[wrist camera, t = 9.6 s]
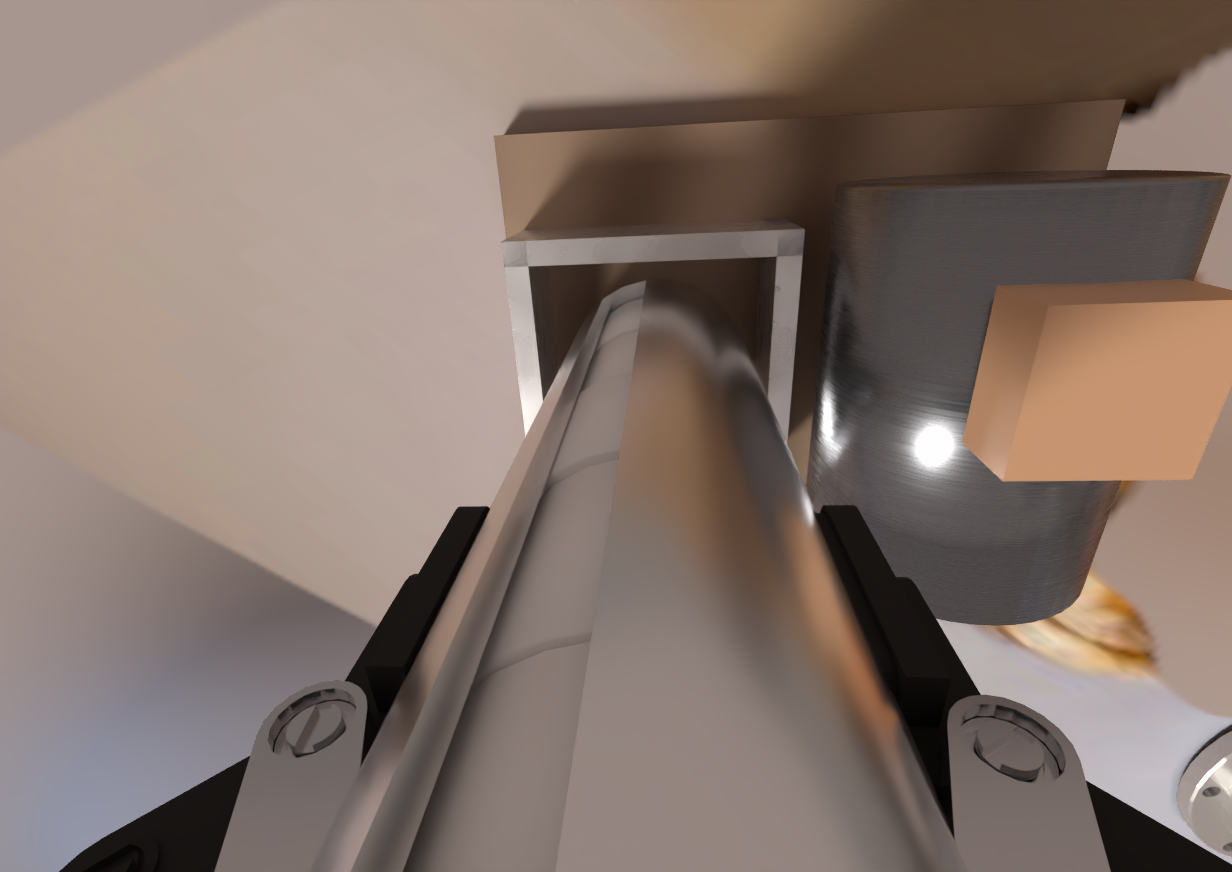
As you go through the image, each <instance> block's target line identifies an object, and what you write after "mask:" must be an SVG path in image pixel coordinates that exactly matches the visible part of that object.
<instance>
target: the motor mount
mask: <svg viewBox="0 0 1232 872" xmlns="http://www.w3.org/2000/svg"><path fill="white" fill-rule="evenodd" d="M1125 101H1126V99H1116V100H1099V101H1082V102H1064V103H1047V104H1030V105H1013V106H996V107H979V108H961V109H944V110H927V111H910V112H893V113H876V114H858V115H841V116H824V117H807V118H790V119H773V120H755V121H738V122H721V123H704V124H687V125H670V126H652V127H635V128H618V129H601V130H584V131H566V132H549V133H532V134H515V135H498V136H494V141H495V149H496V157H497V165H498V173H499V182H500V190H501V198H502V206H503V214H504V223H505V231H506V240H504V241H502V242H501V245H502V253H503V261H504V269H505V277H506V284H507V292H508V300H509V308H510V316H511V324H512V332H513V340H514V348H515V356H516V364H517V372H518V380H519V388H520V396H521V404H522V412H523V420H524V427H525V435H527V433H528V431H529V429H530V427H531V425H532V423H533V421H534V419H535V417H536V415H537V413H538V411H539V409H540V407H541V405H542V403H543V401H544V399H545V397H546V395H547V393H548V391H549V389H550V387H551V385H552V383H553V381H554V379H555V377H556V375H557V373H558V371H559V369H560V367H561V365H562V363H563V361H564V359H565V357H566V355H567V353H568V351H569V349H570V347H571V345H572V343H573V341H574V339H575V337H576V335H577V333H578V331H579V329H580V327H581V325H582V324H583V322H584V320H585V318H586V316H587V314H588V313H589V312H590V311H591V310H592V309H593V308H594V307H595V306H596V305H597V304H598V303H599V302H600V301H601V300H602V299H603V298H604V297H605V296H607V295H609V294H610V293H612V292H614V291H615V290H617V289H619V288H620V287H622V286H624V285H628V284H631V283H635V282H639V281H642V280H646V279H672V280H676V281H679V282H683V283H687V284H691V285H694V286H696V287H697V288H699V289H701V290H702V291H704V292H706V293H708V294H709V295H711V296H713V297H714V298H715V299H716V300H717V301H718V302H719V303H720V304H721V305H722V306H723V307H724V308H725V309H726V310H727V311H728V312H729V313H730V315H731V317H732V319H733V321H734V323H735V324H736V326H737V328H738V330H739V332H740V334H741V336H742V339H743V341H744V343H745V346H746V348H747V350H748V353H749V355H750V357H751V360H752V362H753V364H754V367H755V369H756V371H757V374H758V376H759V378H760V381H761V383H762V385H763V388H764V390H765V393H766V395H767V397H768V400H769V402H770V404H771V407H772V409H773V411H774V414H775V416H776V418H777V421H778V423H779V425H780V428H781V430H782V432H783V435H784V437H785V439H786V442H787V444H788V446H789V449H790V451H791V453H792V456H793V458H794V460H795V463H796V465H797V467H798V470H799V472H800V474H801V477H802V479H803V482H804V484H805V486H806V489H807V491H808V493H809V496H810V498H811V500H812V503H813V505H814V507H815V510H816V512H817V513H820V511H821V508H822V506H823V505H855V506H856V507H857V508H858V510H859V511H860V513H861V515H862V517H863V519H864V520H865V522H866V524H867V526H868V528H869V529H870V531H871V533H872V535H873V537H874V538H875V540H876V542H877V544H878V546H879V547H880V549H881V551H882V553H883V555H884V556H885V558H886V560H887V562H888V564H889V565H890V567H891V569H892V571H893V573H894V575H895V576H896V577H908V578H910V579H911V580H912V581H913V582H914V583H915V585H916V586H917V588H918V590H919V591H920V593H921V595H922V596H923V598H924V600H925V601H926V603H927V605H928V606H929V608H930V610H931V612H932V613H933V615H934V617H935V618H937V619H941V620H946V621H951V622H959V623H966V624H975V625H1016V624H1023V623H1030V622H1035V621H1039V620H1042V619H1046V618H1049V617H1052V616H1054V615H1056V614H1058V613H1061V612H1062V611H1064V610H1065V609H1067V608H1068V607H1070V606H1071V605H1072V604H1073V603H1074V602H1075V601H1076V600H1077V598H1078V597H1079V596H1080V593H1081V591H1082V589H1083V587H1084V584H1085V581H1086V578H1087V575H1088V573H1089V570H1090V567H1091V564H1092V562H1093V559H1094V556H1095V553H1096V550H1097V548H1098V545H1099V542H1100V539H1101V537H1102V534H1103V531H1104V528H1105V525H1106V523H1107V520H1108V517H1109V514H1110V512H1111V509H1112V506H1113V503H1114V500H1115V498H1116V495H1117V492H1118V489H1119V487H1120V484H1121V481H1122V480H1192V479H1193V477H1194V474H1195V472H1196V469H1197V467H1198V465H1199V462H1200V460H1201V457H1202V455H1203V453H1204V450H1205V448H1206V446H1207V443H1208V440H1209V438H1210V436H1211V434H1212V431H1213V429H1214V426H1215V424H1216V422H1217V419H1218V417H1219V414H1220V412H1221V410H1222V407H1223V405H1224V402H1225V400H1226V398H1227V395H1228V393H1229V390H1230V388H1231V386H1232V290H1229V289H1224V288H1220V287H1216V286H1211V285H1207V284H1203V283H1199V282H1194V278H1195V275H1196V273H1197V270H1198V267H1199V264H1200V261H1201V259H1202V256H1203V253H1204V250H1205V247H1206V245H1207V242H1208V239H1209V236H1210V233H1211V231H1212V228H1213V225H1214V223H1215V220H1216V217H1217V214H1218V211H1219V209H1220V206H1221V203H1222V200H1223V198H1224V195H1225V192H1226V189H1227V186H1228V184H1229V181H1230V178H1231V175H1229V174H1223V173H1213V172H1195V171H1161V170H1160V171H1159V170H1153V171H1152V170H1106V169H1107V166H1108V162H1109V158H1110V155H1111V151H1112V148H1113V144H1114V140H1115V137H1116V133H1117V129H1118V126H1119V122H1120V119H1121V115H1122V112H1123V108H1124V104H1125Z"/></svg>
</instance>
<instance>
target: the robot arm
mask: <svg viewBox="0 0 1232 872" xmlns="http://www.w3.org/2000/svg"><path fill="white" fill-rule="evenodd" d="M489 509H490V508H489V507H487V506H481V507H458V508H457V509H456V511H455V512H454V514H453V516H452V518H451V519H450V521H449V523H448V524H447V526H446V528H445V529H444V531H443V533H442V535H441V536H440V538H439V540H438V541H437V543H436V545H435V547H434V548H433V550H432V552H431V553H430V555H429V557H428V558H427V560H426V562H425V564H424V565H423V567H422V569H421V570H420V572H419V574H413V575H411V576H409V578H408V579H407V580H406V581H405V583H404V584H403V586H402V588H401V589H400V591H399V593H398V594H397V596H396V597H395V599H394V601H393V602H392V604H391V606H390V607H389V609H388V611H387V612H386V614H385V616H384V617H383V619H382V621H381V622H380V624H379V625H378V627H377V629H376V630H375V632H374V634H373V636H372V637H371V639H370V640H369V642H368V644H367V645H366V647H365V649H364V650H363V652H362V654H361V655H360V657H359V659H358V660H357V662H356V664H355V665H354V667H353V668H352V670H351V672H350V673H349V675H348V677H347V678H346V680H345V681H338V680H335V681H327V682H321V683H318V684H315V685H312V686H309V687H306V688H304V689H302V690H300V691H298V692H297V693H295V694H293V695H291V696H289V697H288V698H287V699H285V700H284V701H283V702H282V703H280V704H279V705H278V706H277V707H275V708H274V710H273V711H272V712H271V713H270V714H269V715H268V717H267V718H266V719H265V720H264V721H263V724H262V726H261V728H260V730H259V732H258V734H257V736H256V740H255V743H254V746H253V749H252V752H251V755H250V756H249V757H247V758H245V759H243V760H242V761H240V762H238V763H236V764H234V765H233V766H231V767H229V768H227V769H225V770H224V771H222V772H220V773H218V774H216V775H215V776H213V777H211V778H209V779H208V780H206V781H204V782H202V783H200V784H199V785H197V786H195V787H193V788H191V789H190V790H188V791H186V792H184V793H183V794H181V795H179V796H177V797H175V798H174V799H172V800H170V801H168V802H166V803H165V804H163V805H161V806H159V807H158V808H156V809H154V810H152V811H151V812H149V813H147V814H145V815H143V816H141V817H140V818H138V819H136V820H134V821H133V822H131V823H129V824H127V825H125V826H124V827H122V828H120V829H118V830H117V831H115V832H113V833H111V834H109V835H107V836H106V837H104V838H102V839H101V840H99V841H98V842H96V843H95V844H93V845H92V846H90V847H89V848H87V849H86V850H84V851H83V852H81V853H80V854H79V855H78V856H76V857H75V858H74V859H73V860H72V861H71V862H69V863H68V864H67V865H66V866H65V867H64V868H63V869H62V870H60V871H59V872H308V871H309V869H310V867H311V865H312V863H313V861H314V859H315V857H316V855H317V853H318V851H319V849H320V847H321V845H322V843H323V841H324V839H325V837H326V835H327V833H328V831H329V829H330V827H331V825H332V823H333V821H334V819H335V817H336V815H337V813H338V811H339V809H340V807H341V805H342V803H343V801H344V799H345V797H346V795H347V793H348V791H349V789H350V787H351V785H352V783H353V781H354V779H355V777H356V775H357V773H358V771H359V769H360V767H361V765H362V763H363V761H364V759H365V757H366V755H367V753H368V751H369V749H370V747H371V745H372V743H373V741H374V739H375V737H376V735H377V733H378V731H379V729H380V727H381V725H382V723H383V721H384V719H385V717H386V715H387V713H388V711H389V709H390V707H391V705H392V703H393V701H394V699H395V697H396V695H397V693H398V691H399V689H400V687H401V685H402V683H403V681H404V679H405V678H406V676H407V674H408V672H409V670H410V668H411V666H412V664H413V662H414V660H415V658H416V656H417V654H418V652H419V650H420V648H421V646H422V644H423V642H424V640H425V638H426V636H427V634H428V632H429V630H430V628H431V626H432V624H433V622H434V620H435V618H436V616H437V614H438V612H439V610H440V608H441V606H442V604H443V602H444V600H445V598H446V596H447V594H448V592H449V590H450V588H451V586H452V584H453V582H454V580H455V578H456V576H457V574H458V572H459V570H460V568H461V566H462V564H463V562H464V560H465V558H466V556H467V554H468V552H469V550H470V548H471V546H472V544H473V542H474V540H475V538H476V536H477V534H478V532H479V530H480V528H481V526H482V524H483V522H484V520H485V518H486V516H487V513H488V511H489ZM816 516H817V518H818V521H819V523H820V525H821V528H822V530H823V533H824V535H825V537H826V540H827V542H828V544H829V547H830V549H831V551H832V554H833V556H834V559H835V561H836V563H837V566H838V568H839V570H840V573H841V575H842V578H843V580H844V582H845V585H846V587H847V589H848V592H849V594H850V596H851V599H852V601H853V604H854V606H855V608H856V611H857V613H858V615H859V618H860V620H861V623H862V625H863V627H864V630H865V632H866V634H867V637H868V639H869V642H870V644H871V646H872V649H873V651H874V653H875V656H876V658H877V660H878V663H879V665H880V667H881V669H882V671H883V673H884V675H885V677H886V679H887V681H888V683H889V685H890V687H891V689H892V691H893V693H894V695H895V697H896V699H897V702H898V704H899V706H900V709H901V711H902V713H903V716H904V718H905V720H906V723H907V725H908V727H909V730H910V732H911V734H912V737H913V739H914V741H915V744H916V746H917V749H918V751H919V753H920V756H921V758H922V760H923V763H924V765H925V767H926V770H927V772H928V774H929V777H930V779H931V781H932V784H933V786H934V788H935V791H936V793H937V795H938V798H939V800H940V802H941V805H942V807H943V809H944V812H945V814H946V816H947V819H948V821H949V824H950V827H951V830H952V833H953V836H954V839H955V842H956V844H957V847H958V849H959V851H960V854H961V856H962V858H963V861H964V863H965V865H966V868H967V870H968V872H1232V865H1231V864H1230V863H1228V862H1226V861H1224V860H1223V859H1221V858H1219V857H1218V856H1216V855H1214V854H1212V853H1211V852H1209V851H1207V850H1205V849H1204V848H1202V847H1200V846H1199V845H1197V844H1195V843H1193V842H1192V841H1190V840H1188V839H1186V838H1185V837H1183V836H1181V835H1179V834H1178V833H1176V832H1174V831H1173V830H1171V829H1169V828H1167V827H1166V826H1164V825H1162V824H1160V823H1159V822H1157V821H1155V820H1153V819H1152V818H1150V817H1148V816H1147V815H1145V814H1143V813H1141V812H1140V811H1138V810H1136V809H1134V808H1133V807H1131V806H1129V805H1128V804H1126V803H1124V802H1122V801H1121V800H1119V799H1117V798H1115V797H1114V796H1112V795H1110V794H1108V793H1107V792H1105V791H1103V790H1102V789H1100V788H1098V787H1096V786H1095V785H1093V784H1091V783H1089V782H1088V781H1086V780H1085V776H1084V773H1083V769H1082V766H1081V762H1080V759H1079V757H1078V755H1077V753H1076V751H1075V749H1074V747H1073V745H1072V743H1071V742H1070V741H1069V740H1068V739H1067V737H1066V736H1065V735H1064V734H1063V733H1062V731H1061V730H1060V729H1059V728H1058V727H1056V726H1055V725H1054V724H1053V723H1051V722H1050V721H1049V720H1048V719H1046V718H1045V717H1044V716H1043V715H1041V714H1039V713H1037V712H1036V711H1034V710H1032V709H1030V708H1028V707H1027V706H1025V705H1023V704H1020V703H1017V702H1014V701H1012V700H1009V699H1006V698H1003V697H996V696H990V695H980V693H979V691H978V689H977V688H976V686H975V684H974V683H973V681H972V679H971V678H970V676H969V674H968V673H967V671H966V669H965V667H964V666H963V664H962V662H961V661H960V659H959V657H958V656H957V654H956V652H955V651H954V649H953V647H952V645H951V644H950V642H949V640H948V639H947V637H946V635H945V634H944V632H943V630H942V628H941V627H940V625H939V623H938V622H937V620H936V618H935V617H934V615H933V613H932V612H931V610H930V608H929V606H928V605H927V603H926V601H925V600H924V598H923V596H922V595H921V593H920V591H919V590H918V588H917V586H916V585H915V583H914V582H913V581H912V580H911V579H910V578H908V577H896V576H895V575H894V573H893V571H892V569H891V567H890V565H889V564H888V562H887V560H886V558H885V556H884V555H883V553H882V551H881V549H880V547H879V546H878V544H877V542H876V540H875V538H874V537H873V535H872V533H871V531H870V529H869V528H868V526H867V524H866V522H865V520H864V519H863V517H862V515H861V513H860V511H859V510H858V508H857V507H856V506H855V505H823V506H822V508H821V511H820V513H816ZM1177 807H1178V809H1179V812H1180V814H1181V817H1182V818H1183V820H1184V821H1185V822H1186V823H1187V825H1188V826H1189V827H1190V828H1191V830H1192V831H1193V832H1194V834H1195V835H1196V836H1197V837H1198V838H1199V839H1200V840H1201V841H1202V842H1203V843H1205V844H1206V845H1207V846H1208V847H1210V848H1212V849H1214V850H1215V851H1217V852H1219V853H1222V854H1225V855H1228V856H1231V857H1232V730H1231V731H1230V732H1228V733H1226V734H1225V735H1223V736H1221V737H1220V738H1218V739H1217V740H1216V741H1214V742H1213V743H1212V744H1210V745H1209V746H1208V747H1207V748H1205V749H1204V750H1203V751H1202V752H1201V753H1200V754H1199V755H1198V756H1197V757H1196V758H1195V759H1194V760H1193V761H1192V762H1191V764H1190V765H1189V767H1188V768H1187V770H1186V771H1185V773H1184V775H1183V776H1182V778H1181V781H1180V784H1179V788H1178V791H1177Z"/></svg>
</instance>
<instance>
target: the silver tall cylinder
mask: <svg viewBox="0 0 1232 872" xmlns="http://www.w3.org/2000/svg"><path fill="white" fill-rule="evenodd" d="M816 513H817V512H816V510H815V507H814V505H813V503H812V500H811V498H810V496H809V493H808V491H807V489H806V486H805V484H804V482H803V479H802V477H801V474H800V472H799V470H798V467H797V465H796V463H795V460H794V458H793V456H792V453H791V451H790V449H789V446H788V444H787V442H786V439H785V437H784V435H783V432H782V430H781V428H780V425H779V423H778V421H777V418H776V416H775V414H774V411H773V409H772V407H771V404H770V402H769V400H768V397H767V395H766V393H765V390H764V388H763V385H762V383H761V381H760V378H759V376H758V374H757V371H756V369H755V367H754V364H753V362H752V360H751V357H750V355H749V353H748V350H747V348H746V346H745V343H744V341H743V339H742V336H741V334H740V332H739V330H738V328H737V326H736V324H735V323H734V321H733V319H732V317H731V315H730V313H729V312H728V311H727V310H726V309H725V308H724V307H723V306H722V305H721V304H720V303H719V302H718V301H717V300H716V299H715V298H714V297H713V296H711V295H709V294H708V293H706V292H704V291H702V290H701V289H699V288H697V287H696V286H694V285H691V284H687V283H683V282H679V281H676V280H672V279H646V280H642V281H639V282H635V283H631V284H628V285H624V286H622V287H620V288H619V289H617V290H615V291H614V292H612V293H610V294H609V295H607V296H605V297H604V298H603V299H602V300H601V301H600V302H599V303H598V304H597V305H596V306H595V307H594V308H593V309H592V310H591V311H590V312H589V313H588V314H587V316H586V318H585V320H584V322H583V324H582V325H581V327H580V329H579V331H578V333H577V335H576V337H575V339H574V341H573V343H572V345H571V347H570V349H569V351H568V353H567V355H566V357H565V359H564V361H563V363H562V365H561V367H560V369H559V371H558V373H557V375H556V377H555V379H554V381H553V383H552V385H551V387H550V389H549V391H548V393H547V395H546V397H545V399H544V401H543V403H542V405H541V407H540V409H539V411H538V413H537V415H536V417H535V419H534V421H533V423H532V425H531V427H530V429H529V431H528V433H527V435H526V437H525V439H524V441H523V443H522V445H521V447H520V449H519V451H518V453H517V455H516V457H515V459H514V461H513V463H512V465H511V467H510V469H509V471H508V473H507V475H506V477H505V479H504V481H503V483H502V485H501V487H500V489H499V491H498V493H497V495H496V497H495V499H494V501H493V503H492V505H491V507H490V509H489V511H488V513H487V516H486V518H485V520H484V522H483V524H482V526H481V528H480V530H479V532H478V534H477V536H476V538H475V540H474V542H473V544H472V546H471V548H470V550H469V552H468V554H467V556H466V558H465V560H464V562H463V564H462V566H461V568H460V570H459V572H458V574H457V576H456V578H455V580H454V582H453V584H452V586H451V588H450V590H449V592H448V594H447V596H446V598H445V600H444V602H443V604H442V606H441V608H440V610H439V612H438V614H437V616H436V618H435V620H434V622H433V624H432V626H431V628H430V630H429V632H428V634H427V636H426V638H425V640H424V642H423V644H422V646H421V648H420V650H419V652H418V654H417V656H416V658H415V660H414V662H413V664H412V666H411V668H410V670H409V672H408V674H407V676H406V678H405V679H404V681H403V683H402V685H401V687H400V689H399V691H398V693H397V695H396V697H395V699H394V701H393V703H392V705H391V707H390V709H389V711H388V713H387V715H386V717H385V719H384V721H383V723H382V725H381V727H380V729H379V731H378V733H377V735H376V737H375V739H374V741H373V743H372V745H371V747H370V749H369V751H368V753H367V755H366V757H365V759H364V761H363V763H362V765H361V767H360V769H359V771H358V773H357V775H356V777H355V779H354V781H353V783H352V785H351V787H350V789H349V791H348V793H347V795H346V797H345V799H344V801H343V803H342V805H341V807H340V809H339V811H338V813H337V815H336V817H335V819H334V821H333V823H332V825H331V827H330V829H329V831H328V833H327V835H326V837H325V839H324V841H323V843H322V845H321V847H320V849H319V851H318V853H317V855H316V857H315V859H314V861H313V863H312V865H311V867H310V869H309V871H308V872H968V870H967V868H966V865H965V863H964V861H963V858H962V856H961V854H960V851H959V849H958V847H957V844H956V842H955V839H954V836H953V833H952V830H951V827H950V824H949V821H948V819H947V816H946V814H945V812H944V809H943V807H942V805H941V802H940V800H939V798H938V795H937V793H936V791H935V788H934V786H933V784H932V781H931V779H930V777H929V774H928V772H927V770H926V767H925V765H924V763H923V760H922V758H921V756H920V753H919V751H918V749H917V746H916V744H915V741H914V739H913V737H912V734H911V732H910V730H909V727H908V725H907V723H906V720H905V718H904V716H903V713H902V711H901V709H900V706H899V704H898V702H897V699H896V697H895V695H894V693H893V691H892V689H891V687H890V685H889V683H888V681H887V679H886V677H885V675H884V673H883V671H882V669H881V667H880V665H879V663H878V660H877V658H876V656H875V653H874V651H873V649H872V646H871V644H870V642H869V639H868V637H867V634H866V632H865V630H864V627H863V625H862V623H861V620H860V618H859V615H858V613H857V611H856V608H855V606H854V604H853V601H852V599H851V596H850V594H849V592H848V589H847V587H846V585H845V582H844V580H843V578H842V575H841V573H840V570H839V568H838V566H837V563H836V561H835V559H834V556H833V554H832V551H831V549H830V547H829V544H828V542H827V540H826V537H825V535H824V533H823V530H822V528H821V525H820V523H819V521H818V518H817V516H816Z"/></svg>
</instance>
